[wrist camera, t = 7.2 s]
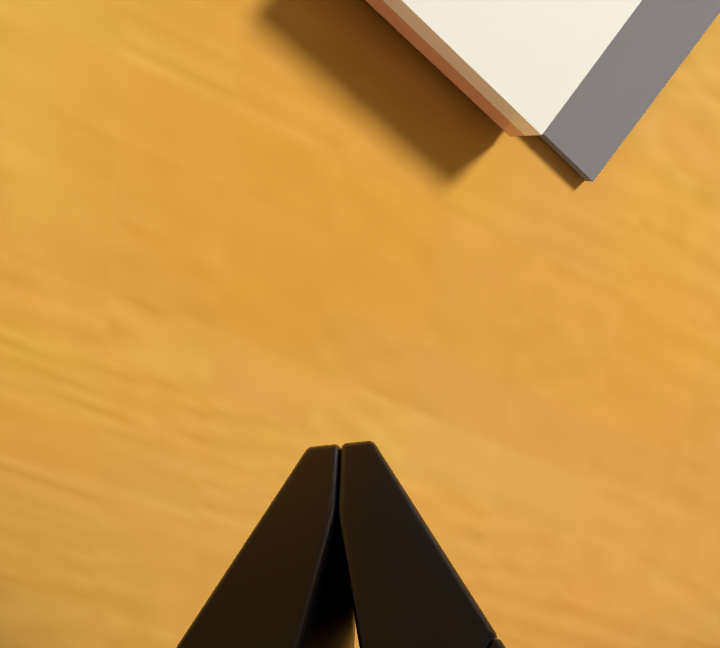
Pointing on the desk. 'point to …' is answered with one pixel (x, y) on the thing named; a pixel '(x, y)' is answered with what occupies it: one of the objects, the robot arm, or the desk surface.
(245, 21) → the desk surface
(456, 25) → the tile
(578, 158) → the gray pad
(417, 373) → the desk surface
